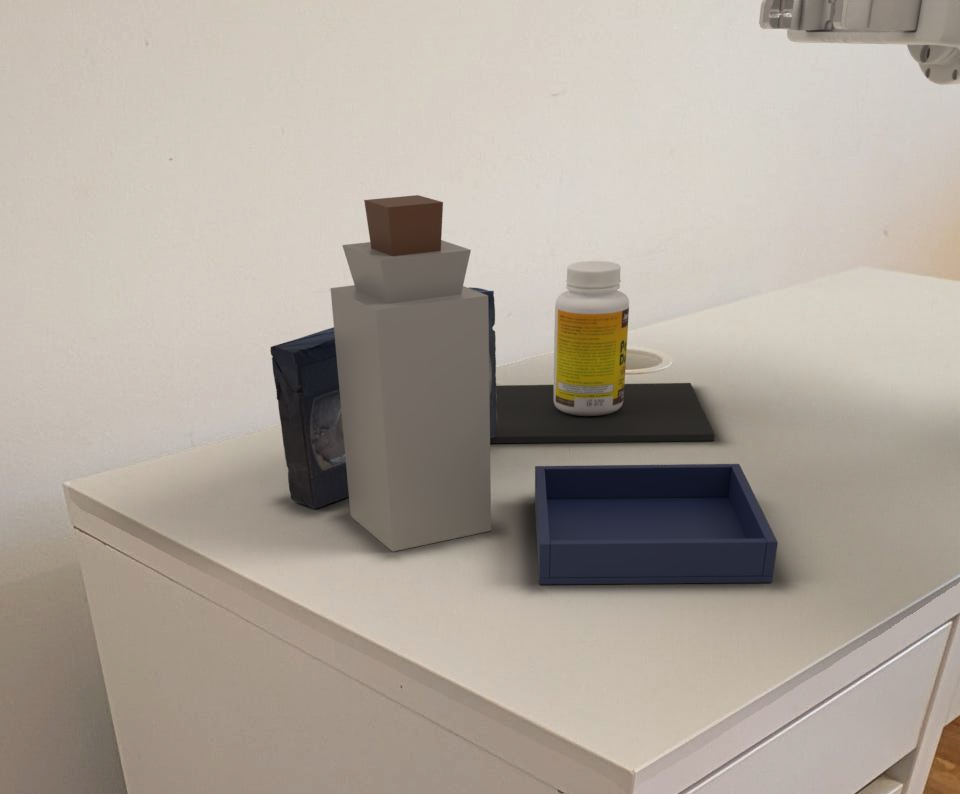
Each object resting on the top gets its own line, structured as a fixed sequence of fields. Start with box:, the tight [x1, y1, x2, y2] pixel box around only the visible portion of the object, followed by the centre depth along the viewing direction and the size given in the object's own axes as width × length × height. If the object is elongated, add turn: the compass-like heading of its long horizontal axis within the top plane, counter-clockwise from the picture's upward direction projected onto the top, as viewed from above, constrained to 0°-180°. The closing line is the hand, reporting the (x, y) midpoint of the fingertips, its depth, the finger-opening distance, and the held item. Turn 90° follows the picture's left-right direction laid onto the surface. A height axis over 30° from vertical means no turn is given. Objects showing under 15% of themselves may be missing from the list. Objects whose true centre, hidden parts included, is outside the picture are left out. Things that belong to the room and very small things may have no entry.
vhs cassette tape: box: [270, 286, 497, 509], centre depth 77 cm, size 18×3×10 cm, turn 136°
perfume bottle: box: [330, 194, 492, 552], centre depth 67 cm, size 7×7×18 cm
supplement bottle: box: [553, 260, 630, 416], centre depth 87 cm, size 6×6×10 cm
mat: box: [490, 382, 716, 444], centre depth 90 cm, size 18×14×1 cm
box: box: [534, 463, 779, 585], centre depth 69 cm, size 13×13×2 cm
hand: (800, 12), depth 77 cm, fingers open, 8 cm apart
